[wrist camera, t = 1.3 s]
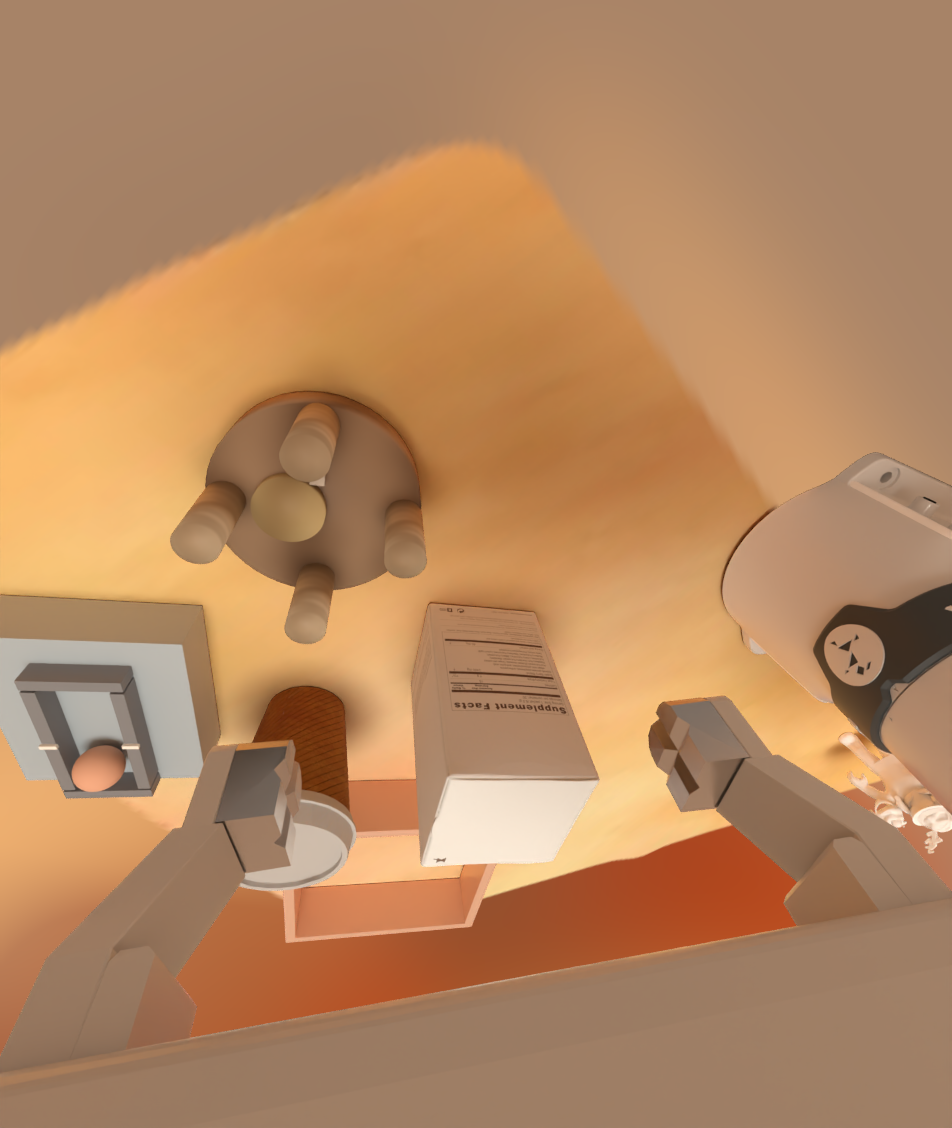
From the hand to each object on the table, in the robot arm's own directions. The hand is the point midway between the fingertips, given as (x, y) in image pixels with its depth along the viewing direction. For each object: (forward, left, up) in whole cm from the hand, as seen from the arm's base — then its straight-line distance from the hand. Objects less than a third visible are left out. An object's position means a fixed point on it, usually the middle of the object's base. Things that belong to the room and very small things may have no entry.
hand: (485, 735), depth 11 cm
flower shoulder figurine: (-53, +29, -23) cm, 65 cm away
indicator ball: (+20, +26, -17) cm, 37 cm away
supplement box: (-6, +18, -23) cm, 30 cm away
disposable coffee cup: (+7, +26, -23) cm, 35 cm away
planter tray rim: (-2, +47, -23) cm, 52 cm away
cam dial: (+6, +5, -23) cm, 24 cm away
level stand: (+20, +22, -23) cm, 37 cm away
